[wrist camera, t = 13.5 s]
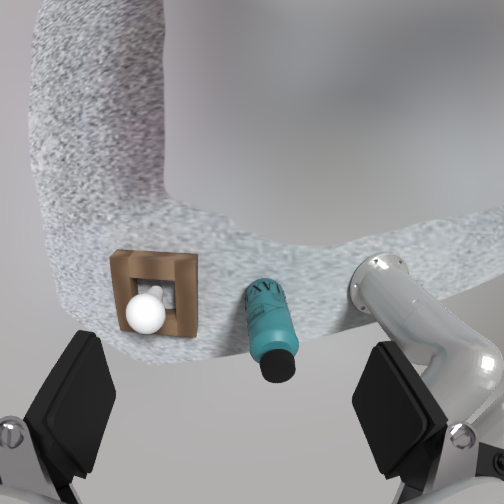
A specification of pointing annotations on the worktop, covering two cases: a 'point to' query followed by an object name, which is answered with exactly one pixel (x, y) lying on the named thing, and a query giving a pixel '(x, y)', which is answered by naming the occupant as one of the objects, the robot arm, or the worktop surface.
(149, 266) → the socket block
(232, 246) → the worktop surface
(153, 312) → the lightbulb
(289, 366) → the beverage bottle
